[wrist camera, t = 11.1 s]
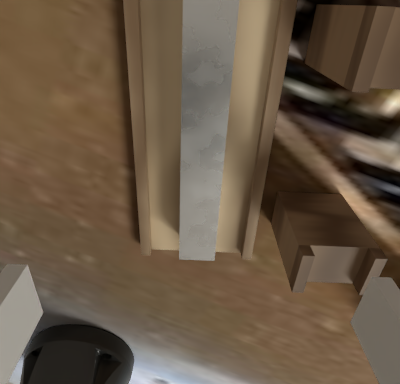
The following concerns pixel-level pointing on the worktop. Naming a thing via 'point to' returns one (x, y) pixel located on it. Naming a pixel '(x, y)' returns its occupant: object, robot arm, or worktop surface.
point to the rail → (204, 120)
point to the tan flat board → (171, 116)
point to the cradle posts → (335, 203)
